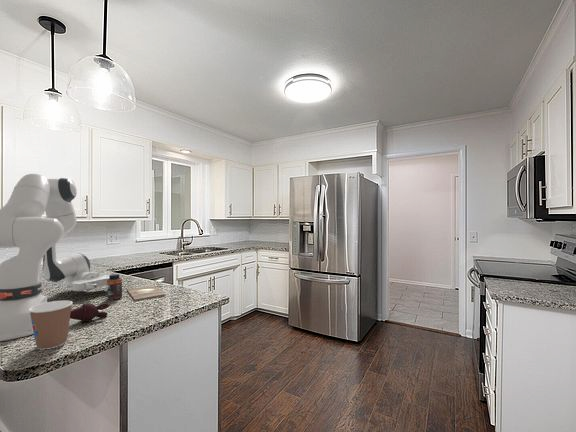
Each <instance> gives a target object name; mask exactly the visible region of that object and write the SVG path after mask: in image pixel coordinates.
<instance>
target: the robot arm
mask: <svg viewBox="0 0 576 432" xmlns="http://www.w3.org/2000/svg"><path fill="white" fill-rule="evenodd" d="M77 190H78V189H77V186H76V184H75V182H74V181H73V180H71V179H70V178H66V177H65V178H63V177H61V178H47V177H45V176H43V175H41V174H38V173H28V174H25V175H23V176H22V177H21V178H20V179H19V180H18V182H17V183H16V185H14V187H13V190H12V192H11V195H10V196H9V199H8V200H7V202H6V204H5V205H4V206H2V207H1V208H0V249H7V248H8V249H9V248H19V250H18V251H19V252H18V253H17V254H16V255H15V256H12V257H10V258H8V259H6V260H4V261H2V262H1V263H0V342H3V341H4V342H5V341H10V340H14V339H18V338H23V337H28V336H31V335H34V332H33V327H32V321H31V315H30V313H31V312H29V309H30V308H31V307H33V306H36V305H39V304H43V303H47V302H48V297H47V296H46V295H43V294H42V291H43V289H42V288H43V286H42V282H41V280H40V279H41V278H40V277H41V264H42V276H43V277H44V279H45V280H46V281H48V282H52V283H59V282H60V281H62V280H63V282H64V284H65V285H66V288H69V289H70V290H72V291H73V292H81V291H93V290H95V289H97V288H98V287H99V288H100V287H102V286H107V281H108V280H109V275H111V274H112V273H108V272H107V271H100V272H99V271H98V272H95V271H94V272H93V271H91V262H90V259H89V257H88V256H86V255H84V254H83V253H81V252H80V253H79V252H76V253H73V254H71V255H68V256H65V257H62V258H59V259H57V243H59V242H60V241H61V239H62V238H63V237H64V236H65V235H67V234H68V233H70V232H71V231H72V230H73V229H74V228H75V227H76V225H77V222H78V221H77V216H76V212H75V208H74V205H73V203H72V201H73V200H74V199H75V198H76V196H77V193H78V192H77ZM44 214H45V215H46V216H44ZM90 271H91V272H90Z"/></svg>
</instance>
